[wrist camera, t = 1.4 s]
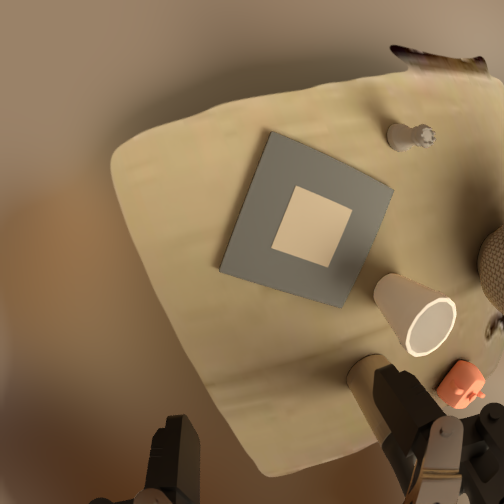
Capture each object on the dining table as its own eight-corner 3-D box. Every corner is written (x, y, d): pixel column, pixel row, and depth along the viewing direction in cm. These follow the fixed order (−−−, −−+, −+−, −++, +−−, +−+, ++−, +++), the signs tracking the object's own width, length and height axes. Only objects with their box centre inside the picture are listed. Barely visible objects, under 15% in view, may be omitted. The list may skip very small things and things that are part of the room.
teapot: (451, 354, 53) (476, 377, 43) (478, 362, 57) (499, 382, 47) (424, 390, 56) (445, 416, 46) (455, 393, 60) (473, 414, 50)
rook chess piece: (411, 148, 38) (443, 149, 30) (390, 154, 38) (421, 155, 30) (403, 121, 36) (435, 117, 29) (381, 126, 36) (412, 121, 29)
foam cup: (394, 319, 47) (433, 359, 34) (356, 308, 45) (394, 353, 33) (418, 272, 44) (465, 304, 32) (381, 257, 43) (429, 290, 30)
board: (390, 189, 39) (394, 190, 38) (339, 305, 44) (341, 308, 43) (270, 132, 35) (272, 131, 34) (219, 269, 40) (219, 271, 39)
